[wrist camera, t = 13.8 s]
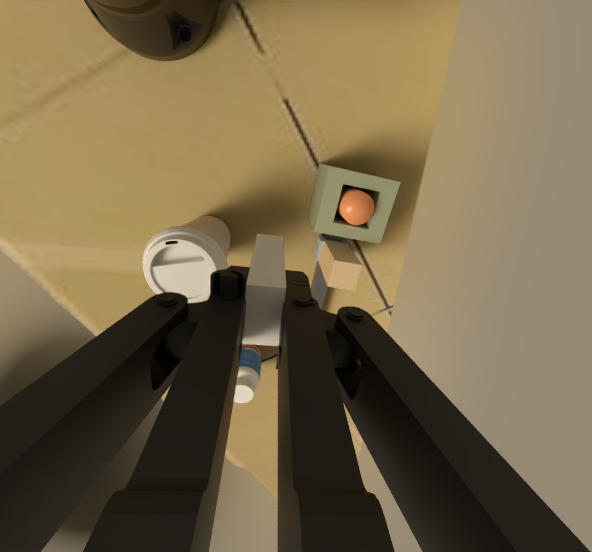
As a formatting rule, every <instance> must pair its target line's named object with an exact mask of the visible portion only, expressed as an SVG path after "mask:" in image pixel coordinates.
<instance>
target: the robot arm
mask: <svg viewBox="0 0 592 552" xmlns="http://www.w3.org/2000/svg"><path fill="white" fill-rule="evenodd" d="M84 1H85V3H86V5H87V6H88V8H89V10H90V11H91V13H92V14H93V16H94V17H95V18H96V20H97V21H98V22H99V23H100V25H101V26H102V27H103V28H104V29H105V30H106V31H107V32H108V33H109V34H110V35H111V36H112V37H113V38H115V39H116V40H117V41H118V42H120V43H121V44H122V45H124V46H125V47H127V48H128V49H130V50H131V51H133V52H135V53H137V54H139V55H141V56H143V57H146V58H149V59H152V60H158V61H172V60H177V59H181V58H184V57H186V56H188V55H190V54H191V53H193V52H194V51H195V50H197V49H198V48H199V47H200V46H201V45H202V44H203V42H204V41H205V40H206V38H207V37H208V35H209V34H210V32H211V30H212V28H213V25H214V22H215V19H216V16H217V11H218V6H219V0H84ZM242 344H254V345H268V346H279V350H278V358H277V365H276V369H278V552H394V548H393V545H392V541H391V538H390V534H389V531H388V527H387V524H386V520H385V517H384V514H383V511H382V508H381V505H380V503H379V501H378V499H377V498H376V496H375V495H374V494H372V493H370V492H367V491H366V489H365V487H364V485H363V481H362V478H361V474H360V470H359V466H358V462H357V458H356V453H355V449H354V445H353V441H352V437H351V433H350V429H349V425H348V421H347V417H346V413H345V409H344V405H345V407H346V408H347V410H348V412H349V414H350V416H351V418H352V420H353V422H354V423H355V425H356V427H357V429H358V431H359V433H360V435H361V437H362V439H363V440H364V442H365V444H366V446H367V448H368V450H369V452H370V454H371V455H372V457H373V459H374V461H375V463H376V465H377V467H378V469H379V470H380V472H381V474H382V476H383V478H384V480H385V482H386V484H387V486H388V487H389V489H390V491H391V493H392V495H393V497H394V499H395V501H396V502H397V504H398V506H399V508H400V510H401V512H402V514H403V516H404V517H405V519H406V521H407V523H408V525H409V527H410V529H411V531H412V533H413V534H414V536H415V538H416V540H417V542H418V544H419V546H420V547H421V549H422V551H423V552H590V551H589V550H588V549H587V548H586V547H585V545H583V543H582V542H581V541H580V540H579V539H578V538H577V537H576V536H575V535H574V534H573V533H572V532H571V530H570V529H569V528H568V527H567V526H566V525H565V524H564V523H563V522H562V521H561V520H560V519H559V517H558V516H556V514H555V513H554V512H553V511H552V510H551V509H550V508H549V507H548V506H547V505H546V504H545V502H544V501H543V500H542V499H541V498H540V497H539V496H538V495H537V494H536V493H535V492H534V491H533V489H532V488H531V487H530V486H529V485H528V484H527V483H526V482H525V481H524V480H523V479H522V478H521V477H520V476H519V474H518V473H517V472H516V471H515V470H514V469H513V468H512V467H511V466H510V465H509V464H508V463H507V462H506V460H505V459H504V458H503V457H502V456H501V455H500V454H499V453H498V452H497V451H496V450H495V449H494V448H493V446H492V445H491V444H490V443H489V442H488V441H487V440H486V439H485V438H484V437H483V436H482V435H481V434H480V432H478V430H477V429H476V428H475V427H474V426H473V425H472V424H471V423H470V422H469V421H468V420H467V418H466V417H465V416H464V415H463V414H462V413H461V412H460V411H459V410H458V409H457V408H456V407H455V406H454V404H452V402H451V401H450V400H449V399H448V398H447V397H446V396H445V395H444V394H443V393H442V392H441V390H439V388H438V387H437V386H436V385H435V384H434V383H433V382H432V381H431V380H430V379H429V378H428V377H427V375H426V374H425V373H424V372H423V371H422V370H421V369H420V368H419V367H418V366H417V365H416V364H415V362H413V360H412V359H411V358H410V357H409V356H408V355H407V354H406V353H405V352H404V351H403V350H402V348H401V347H399V345H398V344H397V343H396V342H395V341H394V340H393V339H392V338H391V337H390V336H389V334H388V333H387V332H386V331H385V330H384V329H383V328H382V327H381V326H380V325H379V324H378V323H377V322H376V320H375V319H374V318H373V317H372V316H371V315H370V314H369V313H367V312H366V311H364V310H362V309H360V308H358V307H357V308H356V307H348V306H347V307H342V308H340V309H339V310H338V313H337V315H336V314H332V313H329V312H326V311H323V310H321V309H320V308H319V304H318V302H317V300H316V299H314V298H313V297H312V294H311V289H310V285H309V280H308V276H307V275H305V274H304V273H303V272H300V271H289V270H285V258H284V242H283V236H275V235H266V234H257V237H256V242H255V247H254V251H253V256H252V261H251V265H250V267H241V266H230V267H228V268H227V269H222V270H217V271H214V272H213V273H212V274H211V275H210V296H209V298H208V300H206V301H203V302H197V303H188V299H187V297H186V296H185V295H183V294H180V293H174V292H164V293H161V294H157V295H155V296H153V297H151V298H149V299H148V300H146V301H145V302H144V303H142V304H141V305H140V306H138V307H137V308H135V309H134V310H133V311H131V312H130V313H128V314H127V315H126V316H124V317H123V318H122V319H120V320H119V321H117V322H116V323H115V324H113V325H112V326H110V327H109V328H108V329H106V330H105V331H104V332H102V333H101V334H99V335H98V336H97V337H95V338H94V339H92V340H91V341H90V342H88V343H87V344H86V345H84V346H83V347H81V348H80V349H79V350H77V351H76V352H74V353H73V354H72V355H71V356H69V357H68V358H66V359H65V360H63V361H62V362H61V363H59V364H58V365H57V366H55V367H54V368H52V369H51V370H50V371H48V372H47V373H45V374H44V375H43V376H41V377H40V378H39V379H37V380H36V381H34V382H33V383H31V384H30V385H29V386H27V387H26V388H25V389H23V390H22V391H20V392H19V393H18V394H16V395H15V396H13V397H12V398H11V399H9V400H8V401H7V402H5V403H4V404H2V405H1V406H0V552H41V551H42V549H43V548H44V547H45V546H46V544H47V543H48V542H49V540H50V539H51V538H52V537H53V535H54V534H55V533H56V531H57V530H58V529H59V528H60V526H61V525H62V524H63V522H64V521H65V520H66V518H67V517H68V516H69V515H70V513H71V512H72V511H73V510H74V508H75V507H76V506H77V504H78V503H79V502H80V501H81V499H82V498H83V497H84V496H85V494H86V493H87V492H88V490H89V489H90V488H91V487H92V485H93V484H94V482H95V481H96V480H97V478H99V476H100V475H101V474H102V472H103V471H104V470H105V468H106V467H107V466H108V465H109V463H110V462H111V461H112V460H113V458H114V457H115V455H116V454H117V453H118V452H119V451H120V449H121V448H122V446H123V445H124V444H125V443H126V442H127V440H128V439H129V438H130V436H131V435H132V434H133V433H134V431H135V430H136V429H137V428H138V426H139V425H140V424H141V422H142V421H143V420H144V418H145V417H146V416H147V415H148V413H149V412H150V411H151V410H152V408H153V407H154V406H155V404H156V403H157V402H158V401H159V399H160V398H161V397H162V395H163V394H164V393H165V392H166V390H167V389H168V388H169V386H170V385H171V386H170V389H169V391H168V393H167V396H166V398H165V400H164V403H163V405H162V407H161V410H160V412H159V414H158V417H157V419H156V421H155V423H154V426H153V428H152V430H151V433H150V435H149V438H148V440H147V442H146V444H145V447H144V449H143V451H142V454H141V456H140V458H139V460H138V463H137V465H136V467H135V470H134V472H133V474H132V477H131V479H130V481H129V483H128V484H127V485H126V487H125V488H124V489H121V490H117V491H115V493H114V494H113V495H112V496H111V497H110V499H109V500H108V502H107V504H106V506H105V507H104V509H103V511H102V513H101V515H100V517H99V519H98V521H97V523H96V525H95V527H94V530H93V532H92V534H91V536H90V538H89V541H88V542H87V544H86V547H85V549H84V551H83V552H209V546H210V540H211V534H212V528H213V522H214V516H215V510H216V504H217V498H218V492H219V486H220V480H221V473H222V467H223V462H224V456H225V450H226V444H227V438H228V432H229V425H230V419H231V413H232V407H233V401H234V395H235V389H236V383H237V377H238V371H239V365H240V359H241V353H242ZM343 403H344V405H343Z"/></svg>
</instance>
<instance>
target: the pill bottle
mask: <svg viewBox="0 0 592 552" xmlns="http://www.w3.org/2000/svg"><path fill="white" fill-rule="evenodd" d="M261 358H262V355H261V351H260V350H259V348H258V347H256V346H254V345H252V344H243V345H242V353H241V359H240V365H239V371H238V377H237V383H236V389H235V395H234V402H237V403H246V402H249V401H250V400H251V399H252V398H253V396H254V390H255V389H256V388H257V387H258V385H259V380H260V369H261Z"/></svg>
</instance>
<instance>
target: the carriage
mask: <svg viewBox="0 0 592 552" xmlns="http://www.w3.org/2000/svg"><path fill="white" fill-rule="evenodd" d="M314 256H315V260H316V261H319V265H320V267H321V270H322V273H323V276H324V279H325V281H326V284H327V286H328V287H334V288H340V289H346V290H352V291H355V287H356V284H357V281H358V278H359V275H360V272H361V269H362V264H361V262H360V261H359V260H358V258H357V257H356V256H355V254H354V253H353V251H352V250H351V249H350V245H349V244H348V243H347V242H346V240H341V242H338V241H333V240H327V239H324V238H323V236H320V235H318V239H317V243H316V247H315V251H314Z"/></svg>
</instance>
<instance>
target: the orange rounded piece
mask: <svg viewBox="0 0 592 552" xmlns="http://www.w3.org/2000/svg"><path fill="white" fill-rule="evenodd" d="M336 211H337V212H338V213H339V214H340V215H341V216H342V217H343V218H344V219H345V220H346V221H347V222H348V223H350V224H353V225H361V224H364V223H365V222H367V221H368V220H369V219H370V218H371V217H372V215H373V212H374V201H373V199H372V198H371V197H370V196H369V195H368V194H366V193H364V192H362V191H360V190H358V189H356V188H354V187H352V186H349V185H344V186H342V190H341V194H340V198H339V202H338V206H337V209H336Z"/></svg>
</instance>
